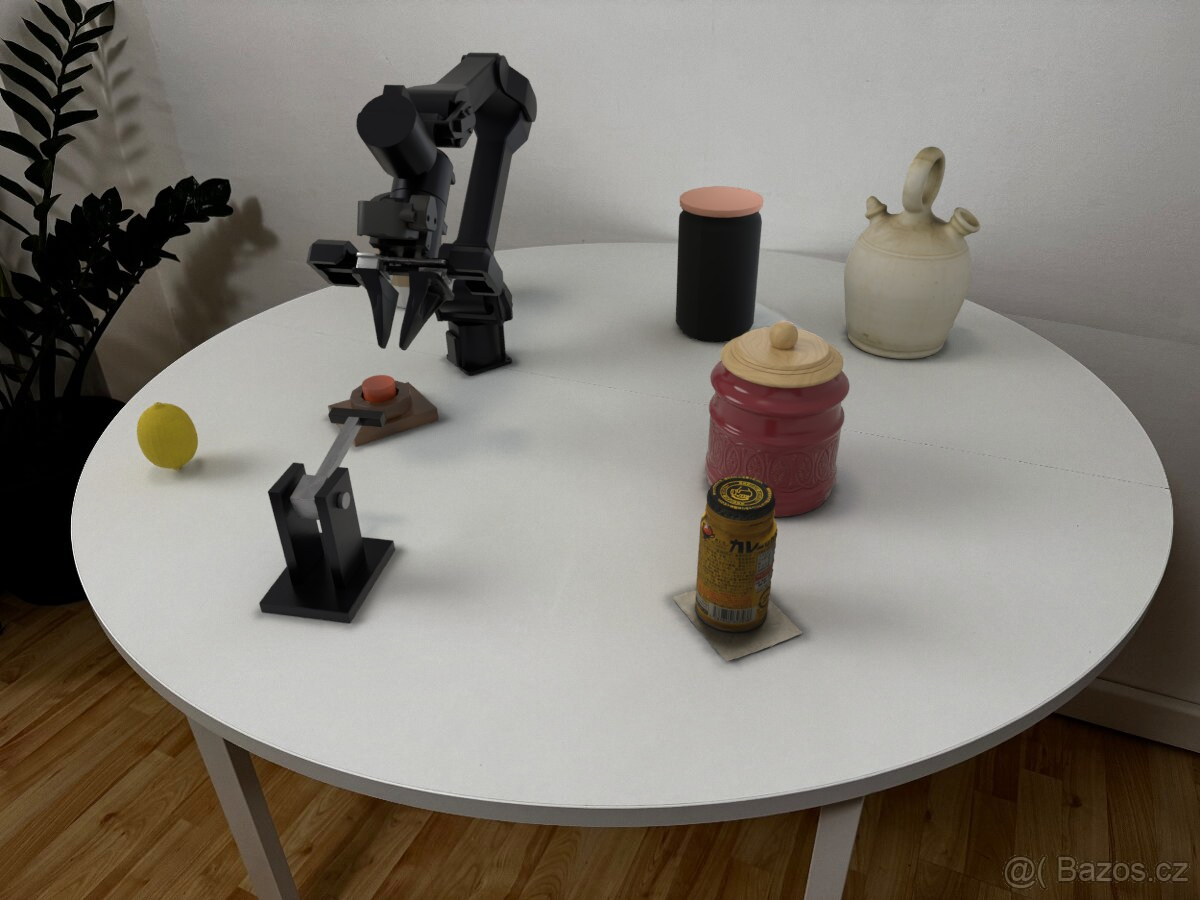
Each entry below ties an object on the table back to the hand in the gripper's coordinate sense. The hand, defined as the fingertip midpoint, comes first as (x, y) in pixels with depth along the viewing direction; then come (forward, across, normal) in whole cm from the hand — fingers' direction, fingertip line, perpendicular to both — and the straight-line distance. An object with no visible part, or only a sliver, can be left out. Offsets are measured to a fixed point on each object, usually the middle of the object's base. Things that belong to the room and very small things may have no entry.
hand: (391, 348), depth 88 cm
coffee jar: (-18, +29, +38) cm, 51 cm away
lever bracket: (+23, 0, -4) cm, 23 cm away
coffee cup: (-21, -16, +40) cm, 48 cm away
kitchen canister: (+8, +38, +12) cm, 40 cm away
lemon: (+13, -24, +6) cm, 28 cm away
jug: (-18, +53, +38) cm, 68 cm away
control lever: (+14, 0, -7) cm, 15 cm away
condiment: (+22, +35, -3) cm, 42 cm away
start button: (+1, -6, +13) cm, 15 cm away
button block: (+4, -6, +16) cm, 17 cm away
